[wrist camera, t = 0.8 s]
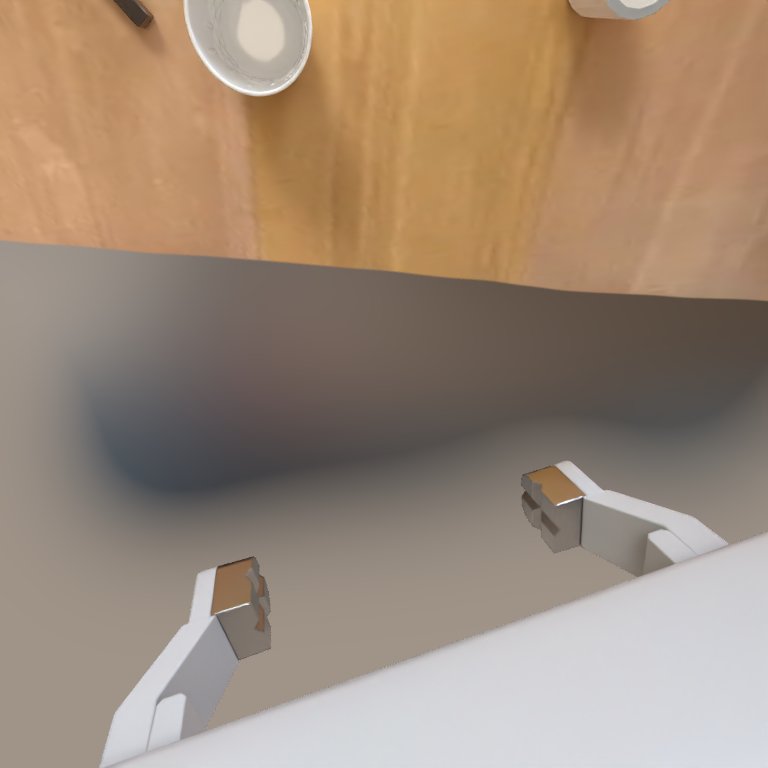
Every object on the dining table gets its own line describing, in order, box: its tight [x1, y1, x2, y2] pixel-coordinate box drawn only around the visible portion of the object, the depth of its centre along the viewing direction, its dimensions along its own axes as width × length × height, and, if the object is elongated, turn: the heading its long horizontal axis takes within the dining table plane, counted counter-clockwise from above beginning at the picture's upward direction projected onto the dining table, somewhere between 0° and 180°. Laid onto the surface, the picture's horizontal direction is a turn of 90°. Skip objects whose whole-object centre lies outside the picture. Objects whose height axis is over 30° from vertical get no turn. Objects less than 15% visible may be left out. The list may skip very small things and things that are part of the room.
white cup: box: [184, 0, 312, 96], centre depth 32 cm, size 8×8×10 cm
